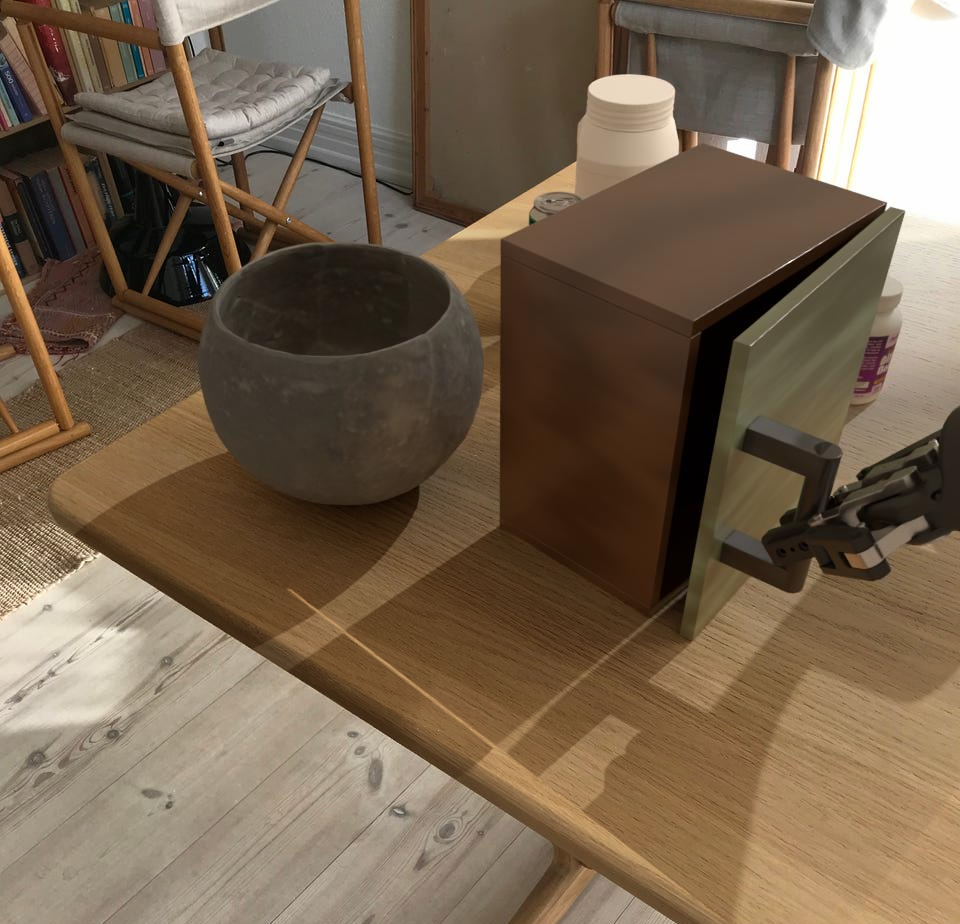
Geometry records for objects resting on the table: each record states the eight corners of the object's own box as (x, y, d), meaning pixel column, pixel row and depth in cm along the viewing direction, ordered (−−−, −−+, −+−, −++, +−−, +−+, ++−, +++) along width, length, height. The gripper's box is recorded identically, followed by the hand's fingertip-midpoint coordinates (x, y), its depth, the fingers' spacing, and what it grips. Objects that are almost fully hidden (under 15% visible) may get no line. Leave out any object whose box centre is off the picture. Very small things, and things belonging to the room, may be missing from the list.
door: (891, 519, 77) (992, 233, 61) (764, 678, 66) (848, 381, 51) (812, 487, 80) (890, 206, 64) (679, 635, 69) (732, 340, 53)
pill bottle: (883, 410, 87) (917, 303, 80) (818, 404, 88) (846, 298, 81) (877, 375, 91) (909, 270, 84) (815, 370, 91) (841, 265, 84)
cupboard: (810, 487, 80) (887, 202, 64) (648, 619, 70) (693, 321, 54) (664, 415, 87) (702, 142, 71) (499, 526, 77) (500, 238, 61)
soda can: (582, 344, 95) (591, 214, 86) (527, 344, 95) (530, 215, 86) (578, 316, 98) (586, 188, 90) (525, 316, 98) (528, 189, 90)
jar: (667, 269, 105) (687, 111, 94) (572, 267, 105) (581, 110, 94) (660, 219, 113) (677, 68, 102) (572, 218, 113) (579, 68, 102)
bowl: (366, 595, 72) (342, 410, 61) (168, 487, 81) (118, 309, 70) (534, 455, 83) (539, 278, 72) (344, 373, 92) (324, 204, 81)
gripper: (1086, 318, 51) (801, 434, 65) (983, 447, 44) (687, 547, 58) (1149, 448, 52) (858, 534, 67) (1061, 594, 45) (754, 656, 59)
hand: (780, 539), depth 62 cm, fingers closed on door
